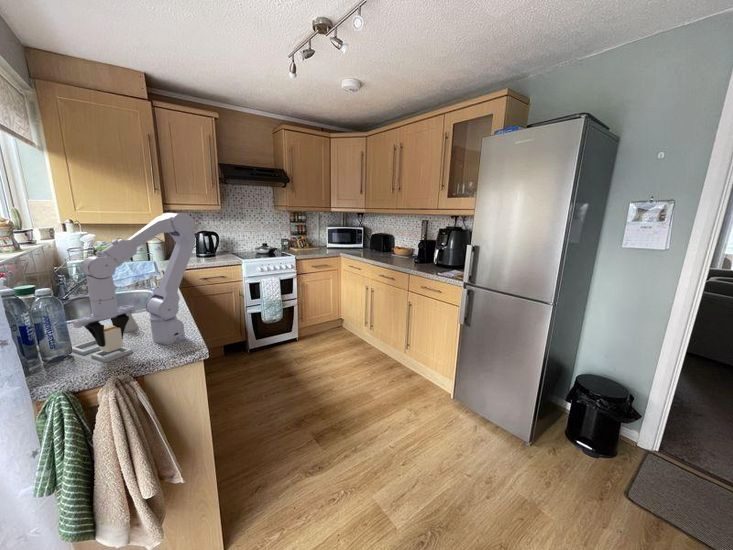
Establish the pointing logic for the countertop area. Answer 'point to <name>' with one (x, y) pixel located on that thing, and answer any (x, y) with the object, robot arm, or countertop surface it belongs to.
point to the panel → (98, 352)
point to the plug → (112, 339)
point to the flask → (130, 322)
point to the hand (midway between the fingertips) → (110, 342)
